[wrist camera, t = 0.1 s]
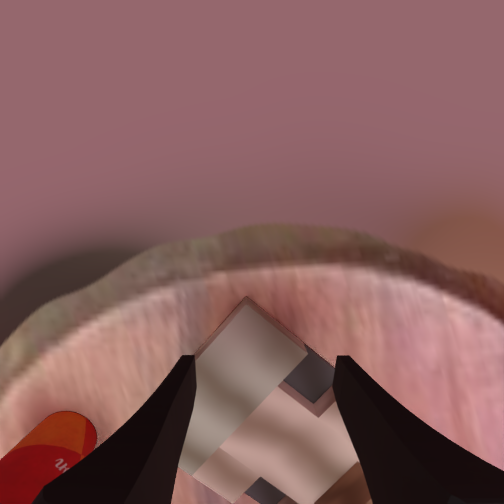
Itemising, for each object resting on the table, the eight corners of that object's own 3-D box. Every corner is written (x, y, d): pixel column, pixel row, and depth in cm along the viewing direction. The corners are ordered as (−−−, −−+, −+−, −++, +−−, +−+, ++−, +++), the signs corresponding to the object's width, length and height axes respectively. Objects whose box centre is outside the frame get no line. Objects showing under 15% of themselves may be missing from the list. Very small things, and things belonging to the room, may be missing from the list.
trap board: (331, 549, 28) (337, 575, 26) (139, 416, 25) (129, 434, 23) (437, 452, 27) (453, 471, 25) (246, 296, 23) (246, 303, 21)
